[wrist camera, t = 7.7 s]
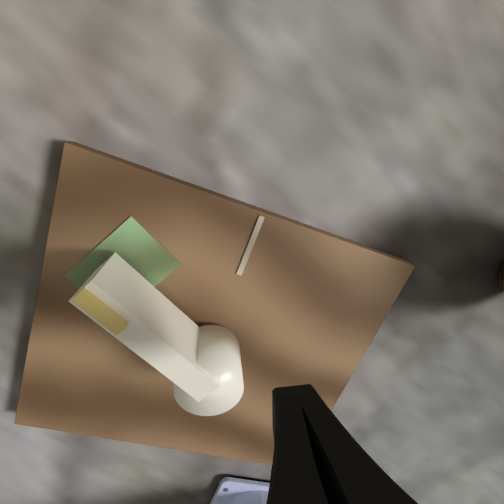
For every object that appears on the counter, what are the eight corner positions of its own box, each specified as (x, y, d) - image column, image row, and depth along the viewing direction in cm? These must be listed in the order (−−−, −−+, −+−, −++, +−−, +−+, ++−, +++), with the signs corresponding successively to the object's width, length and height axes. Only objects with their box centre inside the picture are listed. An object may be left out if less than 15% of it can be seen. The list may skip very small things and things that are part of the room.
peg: (251, 350, 19) (259, 400, 16) (208, 382, 20) (206, 438, 16) (130, 238, 16) (106, 268, 13) (82, 280, 17) (46, 321, 13)
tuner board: (294, 456, 25) (297, 470, 24) (23, 410, 21) (13, 425, 20) (406, 260, 20) (416, 267, 19) (73, 141, 15) (63, 142, 14)
